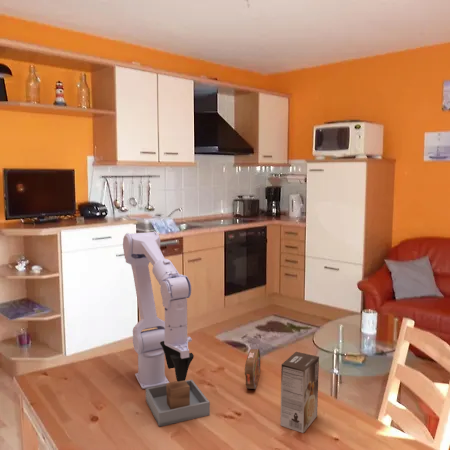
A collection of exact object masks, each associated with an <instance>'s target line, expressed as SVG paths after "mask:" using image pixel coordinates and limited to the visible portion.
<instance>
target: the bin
mask: <svg viewBox="0 0 450 450" xmlns="http://www.w3.org/2000/svg"><path fill="white" fill-rule="evenodd" d="M185 381H186V382H187V384H188V385H189V386H190V405H189V406H184V407H180V408H175V409H170V408H169V406H168V404H167V387H166V384H165V385H160V386H155V387H150V388H145V402H146V404H147V407H148V408H149V411H150V412H151V413H152V416H153V418H154V419H155V421H156V423H157V425H158V427H159V428H160V427H165V426H170V425H174V424H178V423H181V422H186V421H189V420H193V419H194V420H195V419H198V418H203V417H208V416H210V415H211V413H210V412H211V409H210V408H211V406H210V405H211V402H210V400H208V398H207V397H206V395H205V394H204V393H203V391H202V390H201V389H200V387H198V385H197V384H196V383H195V382H194V379H188V380H187V379H186V380H185Z"/></svg>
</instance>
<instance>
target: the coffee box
mask: <svg viewBox="0 0 450 450" xmlns="http://www.w3.org/2000/svg"><path fill="white" fill-rule="evenodd" d="M319 360H320V356H317V355H313V354H309V353H305V352H300V351H295V352H294V353H293V354H291V356H289V357H288V358H287V359H285V361H284V362H283V363H281V370H280V371H281V374H280V375H281V379H280V381H281V382H280V426H281V427H284V428H287V429H289V430H291V431H292V430H293V431H296V432H299V433H301V434H304V433H305V432H306V431H307V429H308V428H309V427H310V426H311V425H312V424H313V422H314V421H315V419H317V417H318V407H319V405H318V403H319V401H318V398H319V368H320V367H319V362H320V361H319Z"/></svg>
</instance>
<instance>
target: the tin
mask: <svg viewBox="0 0 450 450" xmlns="http://www.w3.org/2000/svg"><path fill="white" fill-rule="evenodd" d="M260 374H261V351H260V349H259V348H255V349H254V348H253V349H252V348H251V349H249V351H248V354H247V357H246V359H245V365H244V375H245V387H246V389H248V390H249V389H251V390H252V389H253V390H256V389H257V386H258V383H259V380H260V376H261V375H260Z"/></svg>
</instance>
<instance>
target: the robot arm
mask: <svg viewBox="0 0 450 450" xmlns="http://www.w3.org/2000/svg"><path fill="white" fill-rule="evenodd" d="M122 240H123V241H122V249H123V255H124V259H125V263H126V264H129V265H130V266H131V270H132V274H133V275H132V276H133V283H134V288H135V292H136V293H135V294H136V295H135V296H136V299H137V301H136V302H137V305H138V311H139V312H138V313H139V319H140V320H139V321H138V322H137V323H136V324H135V325H134V326H133V328H132V346H133V349H134V351H135V353H137V367H138V368H137V369H138V370H137V373H134V375H135V378H136V379H137V382H138V384H139V385H140V388H141V389H145V390H146V389H147V388H152V387H157V386H162V385H166V383H170V381H169V380H168V378H167V376H166V374H165V373H166V372H165V370H166V368H165V364H166V365H167V368H168V369H169V370H170V369H174V373H175V379H176V381H178V382H179V381H184V380H185V381H186V380H187V376H188V371H189V367H190V365H191V363H192V361H193V360H194V357H195V355H194V354H193V353H192V352H190V349H189V343H191V342H192V341H193V338H191V336H188V299H190V297H191V295H192V285H191V284H192V283H191V281H190V279H189V276H188V275H184V274H181V273H179V271H178V269H177V268H176V266H175V265H174V264H173V262H172V261H171V260H170V259H168V258H165V256H164V255H163V252H162V250H161V238H160V235H159V233H158V232H157V231H155V230H154V231H150V232H149V231H147V232H136V233H135V232H134V233H128V232H127V233H125V234H124V236H123V238H122ZM149 264H151V265H152V270H151V271H152V274H153V275H154V278H155V279H156V280H157V282H158V284H159V286H160V287H159V289H160V295H161V301H162V303H161V304H162V307H164V320H163V319H161V318H159V317H158V312H157V307H156V303H155V296H154V292H153V291H154V290H153V285H152V280H151V273H150V268H149V267H150V265H149ZM165 361H166V362H165Z"/></svg>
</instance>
